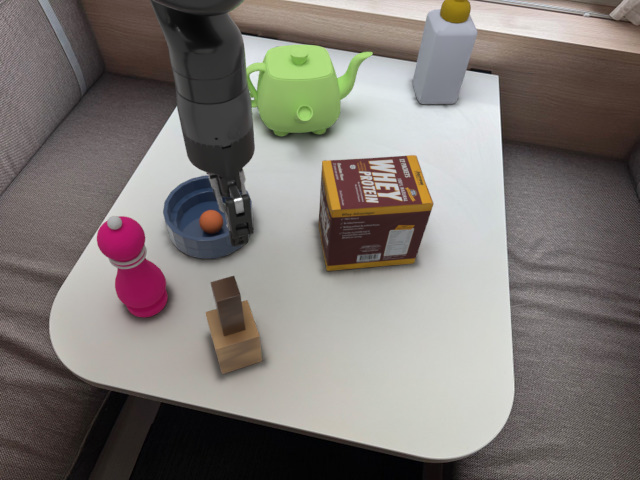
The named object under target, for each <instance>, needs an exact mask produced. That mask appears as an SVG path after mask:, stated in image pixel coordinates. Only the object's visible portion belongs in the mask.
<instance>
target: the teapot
mask: <svg viewBox="0 0 640 480" xmlns="http://www.w3.org/2000/svg"><path fill="white" fill-rule="evenodd" d="M373 54H374V53H373V51H363V52H360V53H357V54H356V55H354V56H353V57H352V58H351V60H350V62H349V64H348V66H347V69H346V71H345V72H344V74H342V75H341V76H339V77H338V76H337V74H336V73H337V72H336V69H335V66H334V64H333V60H332V58H331V56H330V53H329V51H328V50H327V48H325V47H323V46H320V45H313V44H288V45H279V46H275V47H272V48H269V49H268V50H267V51H266V53H265V55H264V56H263V60H262V61H261V62H259V61H257V62H253V63H251V64H249V65H248V66H246V70H247V82H248V87H249V91H250V96H251V103H252V109H253V108H254V109H255V108H257V110H258V114H259V117H260V119H261V121H262V122H263V124H264V125H265V126H266V127H267V128H268V129H269V130H272V131H273V134H274V135H275V136H278V137H286V136H288V135H289V134H290V133H292V134H293V133H295V134H297V133H299V134H302V133H311V132H312V133H313V134H316V135H324V134H325V133H326V132H327V129H329V128H331V127H332V126H333V125H334V124H335V123H336V122H337V121H338V119H339V118H340V115H341V108H342V107H341V100H343V99H345V98H347V96H348V95H350V93H351V92H352V90H353V89H354V86H355V83H356V78H357V75H358V72H359V68H360V67H361V65H362V63H363V62H364V61H365V60H367V59H368V58H370V57H371V56H372V55H373ZM255 72H258V77H257V84H256V85H257V86H256V87H255V86H254V84H253V82H252V80H251V77H250V75H251V74H253V73H255ZM252 98H253V99H252Z"/></svg>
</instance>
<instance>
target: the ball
mask: <svg viewBox="0 0 640 480" xmlns="http://www.w3.org/2000/svg"><path fill="white" fill-rule="evenodd" d="M199 224H200V227H201V229H202V230H203V231H204V232H206V233H210V234H213V233H216V232H218V231H219V230H220V229H221V228H222V226H223V218H222V216H221V214H220V213H219V212H217V211H214V210H208V211H205V212H204V213H203V214H202V215H201V216H200V219H199Z"/></svg>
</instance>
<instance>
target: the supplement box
mask: <svg viewBox="0 0 640 480" xmlns="http://www.w3.org/2000/svg"><path fill="white" fill-rule="evenodd" d="M319 192H320V193H319V210H318V211H319V212H318V223H317V225H318V231H319V237H320V242H321V248H322V254H323V260H324V264H325V270H326V272H331V271H342V270H355V269H364V268H367V269H368V268H376V267H387V266H401V265H411V264H412V265H413V264H415V263H416V258H417V256H418V254H419V253H418V252H419V250H420V247H421V244H422V242H423V241H422V240H423V237H424V234H425V232H426V229H427V225H428V223H429V219H430V216H431V214H432V210H433V207H434V201H433V198H432V196H431V193H430V191H429V188H428V185H427V182H426V179H425V176H424V173H423V171H422V167H421V164H420V161H419V158H418V156H417V155H415V154H409V155H408V154H407V155H396V156H395V155H394V156H382V157H381V156H380V157H366V158H365V157H364V158H347V159H329V160H328V159H327V160H321V175H320V190H319Z"/></svg>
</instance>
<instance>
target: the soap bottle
mask: <svg viewBox="0 0 640 480" xmlns="http://www.w3.org/2000/svg"><path fill="white" fill-rule="evenodd" d="M471 10H472V7H471V2H470V1H469V0H443V1H442V4H441V7H440V8H436V9H432V10H429V11H428V13H427V15H426V17H425V22H424V27H423V32H422V35H421V41H420V45H419V50H418V55H417V58H416V64H415V68H414V73H413V76H412V77H413V78H412V83H411V84H412V86H413V89H414V93H415V96H416V100H417V102H418V103H420V104H423V105H452V104H456V103H457V102H458V98H459V95H460V93H461V89H462V86H463V82H464V80H465V75H466V74H467V73H466V72H467V69H468V66H469V63H470V59H471V56H472V53H473V50H474V47H475V43H476V40H477V36H478V29H477V27H476V25H475V23H474V20H473V18H472V16H471V14H470V13H471Z"/></svg>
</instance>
